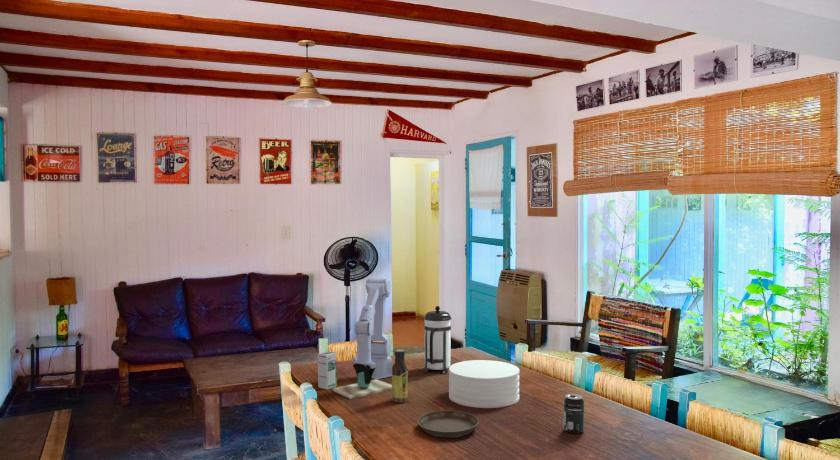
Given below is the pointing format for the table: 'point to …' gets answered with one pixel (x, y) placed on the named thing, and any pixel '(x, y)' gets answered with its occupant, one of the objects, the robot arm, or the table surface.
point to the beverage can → (573, 413)
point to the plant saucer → (448, 423)
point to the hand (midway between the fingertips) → (364, 382)
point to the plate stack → (484, 383)
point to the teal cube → (362, 380)
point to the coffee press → (437, 340)
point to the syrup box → (327, 370)
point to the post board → (363, 389)
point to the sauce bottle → (399, 378)
